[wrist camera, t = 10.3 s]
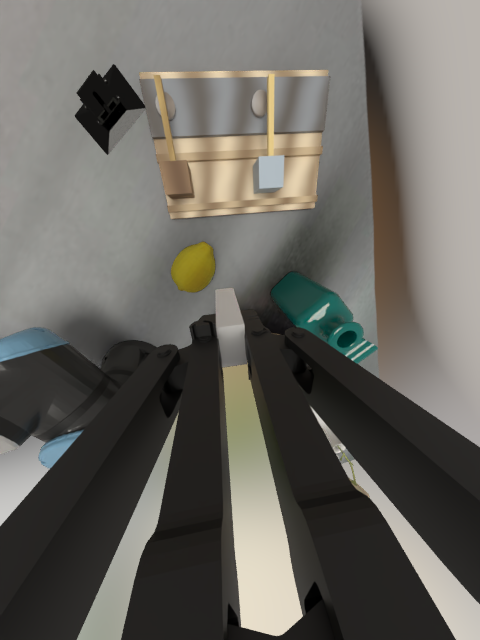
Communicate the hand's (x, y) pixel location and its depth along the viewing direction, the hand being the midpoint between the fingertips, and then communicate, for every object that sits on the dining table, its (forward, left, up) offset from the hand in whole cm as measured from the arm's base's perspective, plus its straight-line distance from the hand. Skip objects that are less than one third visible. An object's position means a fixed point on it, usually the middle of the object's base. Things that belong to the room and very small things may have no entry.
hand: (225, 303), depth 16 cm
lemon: (-5, -1, -27) cm, 27 cm away
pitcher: (+17, -10, -27) cm, 33 cm away
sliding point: (+10, +17, -25) cm, 32 cm away
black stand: (-14, +23, -27) cm, 38 cm away
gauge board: (+6, +17, -26) cm, 32 cm away
